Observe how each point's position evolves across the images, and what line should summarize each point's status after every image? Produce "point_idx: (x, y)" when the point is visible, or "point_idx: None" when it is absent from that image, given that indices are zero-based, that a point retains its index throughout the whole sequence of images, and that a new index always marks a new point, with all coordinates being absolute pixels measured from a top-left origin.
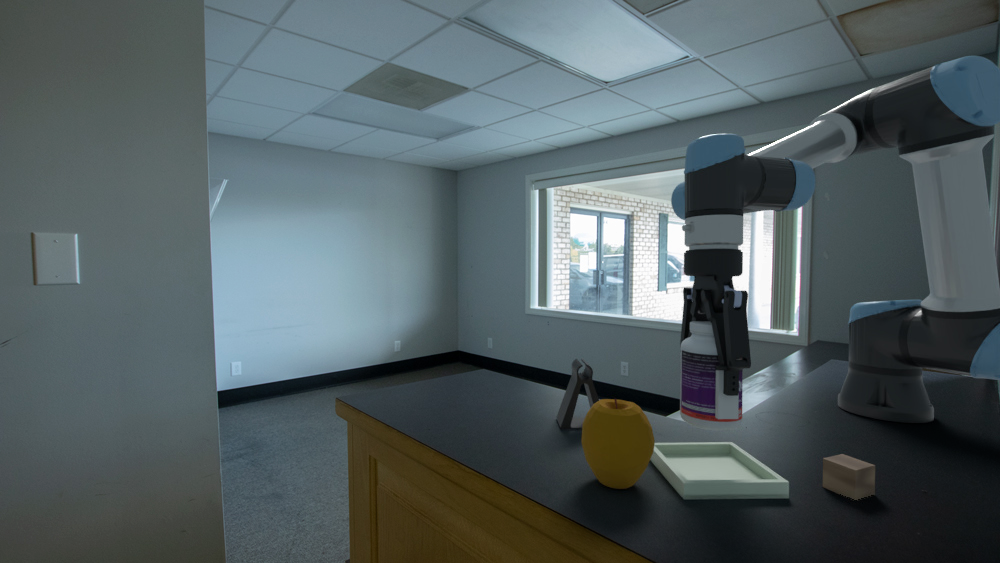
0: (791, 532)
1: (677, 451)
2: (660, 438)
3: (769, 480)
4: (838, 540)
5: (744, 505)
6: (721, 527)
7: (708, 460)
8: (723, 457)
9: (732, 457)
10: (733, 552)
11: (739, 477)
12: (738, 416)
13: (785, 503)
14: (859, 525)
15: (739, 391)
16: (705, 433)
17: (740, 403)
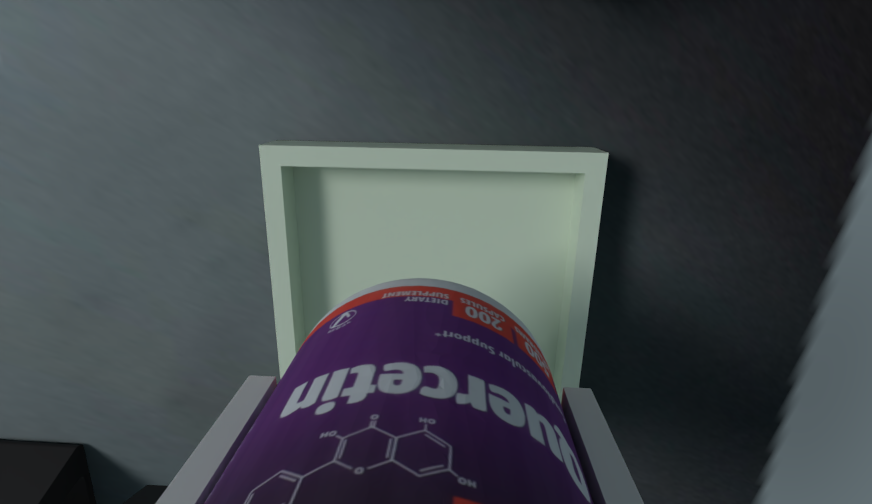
0: (746, 255)
1: (302, 339)
2: (140, 313)
3: (589, 209)
4: (805, 165)
5: (609, 292)
6: (691, 393)
7: (354, 264)
8: (328, 202)
9: (327, 170)
10: (779, 416)
11: (480, 234)
12: (542, 359)
13: (617, 176)
14: (763, 46)
15: (563, 435)
16: (54, 124)
17: (542, 379)
